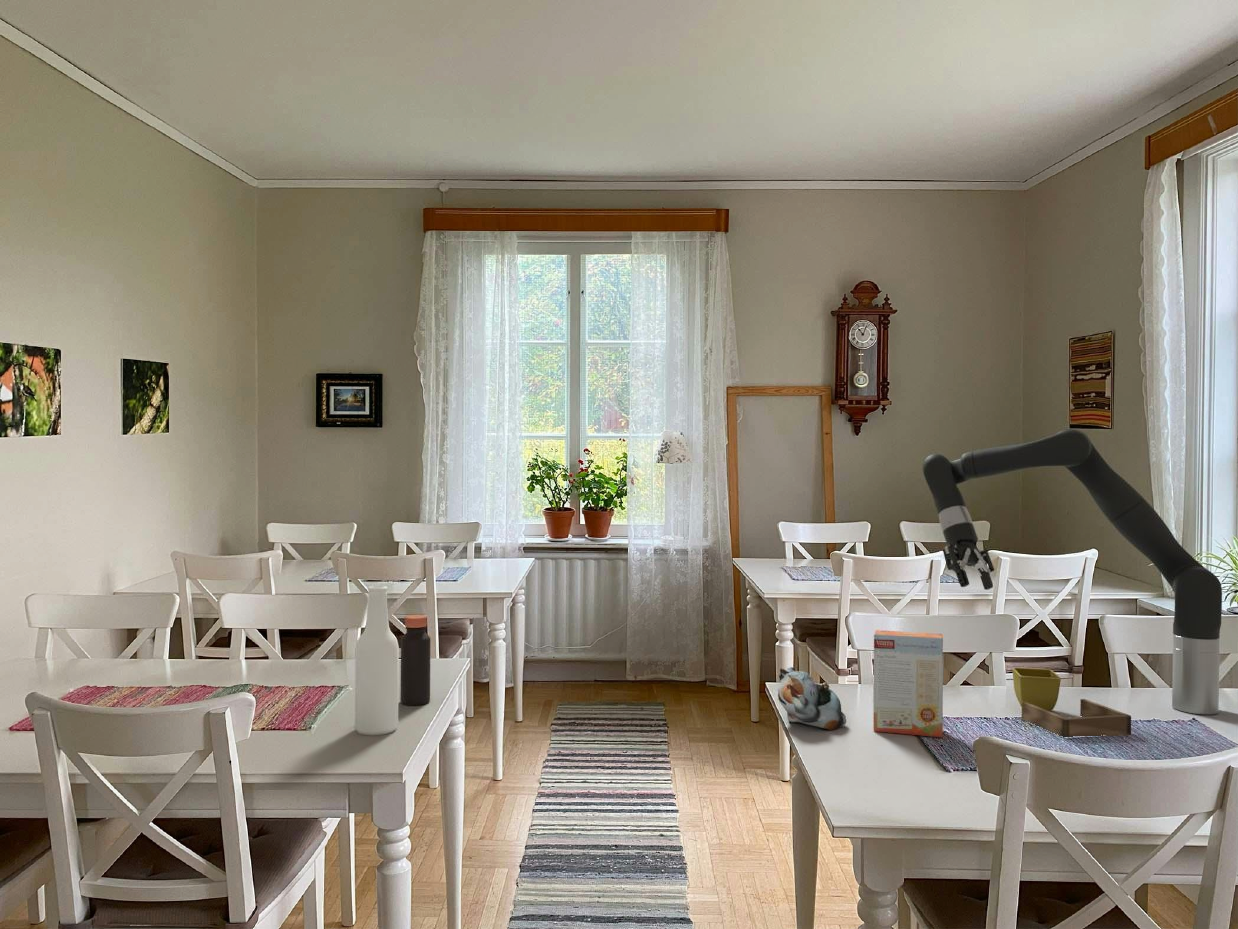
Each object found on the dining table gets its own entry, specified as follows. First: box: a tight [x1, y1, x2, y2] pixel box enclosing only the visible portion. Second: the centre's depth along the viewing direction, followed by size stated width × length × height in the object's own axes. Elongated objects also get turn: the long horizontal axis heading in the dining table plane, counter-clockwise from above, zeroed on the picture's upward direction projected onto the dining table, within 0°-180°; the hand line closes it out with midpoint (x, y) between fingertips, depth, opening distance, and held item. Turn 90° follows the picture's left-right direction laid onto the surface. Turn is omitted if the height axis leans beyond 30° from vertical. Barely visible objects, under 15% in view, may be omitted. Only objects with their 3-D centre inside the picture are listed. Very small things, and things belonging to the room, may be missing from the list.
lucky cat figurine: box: [777, 666, 847, 731], centre depth 201 cm, size 15×12×14 cm
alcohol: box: [354, 585, 400, 736], centre depth 193 cm, size 9×9×30 cm
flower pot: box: [1011, 667, 1062, 712], centre depth 213 cm, size 9×9×9 cm
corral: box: [1021, 698, 1132, 737], centre depth 200 cm, size 14×16×4 cm
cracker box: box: [872, 629, 944, 738], centre depth 196 cm, size 14×6×21 cm, turn 71°
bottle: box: [399, 614, 432, 706], centre depth 216 cm, size 7×7×20 cm
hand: (977, 587), depth 226 cm, fingers open, 8 cm apart
